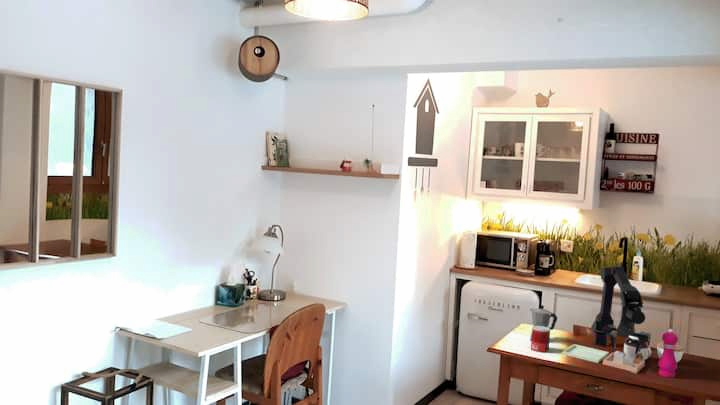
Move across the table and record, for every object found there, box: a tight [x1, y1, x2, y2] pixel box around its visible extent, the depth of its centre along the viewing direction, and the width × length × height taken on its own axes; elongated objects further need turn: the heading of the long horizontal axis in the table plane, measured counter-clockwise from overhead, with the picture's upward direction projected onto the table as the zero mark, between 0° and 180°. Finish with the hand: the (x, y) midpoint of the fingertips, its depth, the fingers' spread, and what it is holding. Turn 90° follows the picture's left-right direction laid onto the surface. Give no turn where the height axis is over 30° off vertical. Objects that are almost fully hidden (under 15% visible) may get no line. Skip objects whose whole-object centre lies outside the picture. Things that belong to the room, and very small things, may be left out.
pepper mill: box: [657, 328, 679, 378], centre depth 255 cm, size 7×7×20 cm
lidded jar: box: [656, 341, 685, 363], centre depth 273 cm, size 11×11×9 cm
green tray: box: [561, 344, 610, 364], centre depth 276 cm, size 16×16×2 cm
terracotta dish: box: [602, 352, 646, 375], centre depth 265 cm, size 14×14×2 cm
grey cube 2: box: [623, 356, 635, 367], centre depth 261 cm, size 4×4×4 cm
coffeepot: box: [529, 305, 558, 341], centre depth 294 cm, size 15×9×18 cm, turn 37°
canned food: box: [530, 325, 551, 353], centre depth 279 cm, size 8×8×11 cm
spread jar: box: [623, 336, 652, 361], centre depth 275 cm, size 12×11×12 cm
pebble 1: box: [613, 350, 626, 364], centre depth 268 cm, size 4×4×4 cm
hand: (624, 351), depth 265 cm, fingers open, 9 cm apart
